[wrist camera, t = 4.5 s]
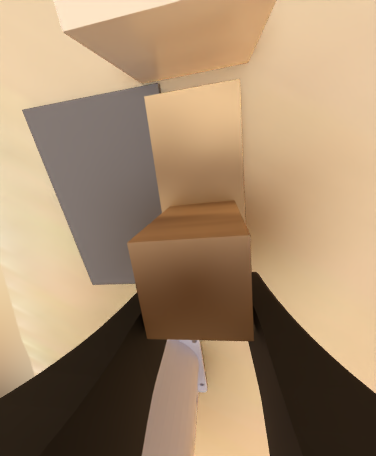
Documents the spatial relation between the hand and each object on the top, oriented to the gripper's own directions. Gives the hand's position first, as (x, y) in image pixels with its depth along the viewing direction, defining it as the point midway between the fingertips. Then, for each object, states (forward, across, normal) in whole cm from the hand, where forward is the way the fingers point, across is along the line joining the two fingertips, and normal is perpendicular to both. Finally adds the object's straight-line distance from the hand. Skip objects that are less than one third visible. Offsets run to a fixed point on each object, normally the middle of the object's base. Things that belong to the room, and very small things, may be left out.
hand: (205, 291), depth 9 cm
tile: (+7, 0, -10) cm, 12 cm away
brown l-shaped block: (+4, 0, -4) cm, 6 cm away
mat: (+7, +6, -2) cm, 10 cm away
